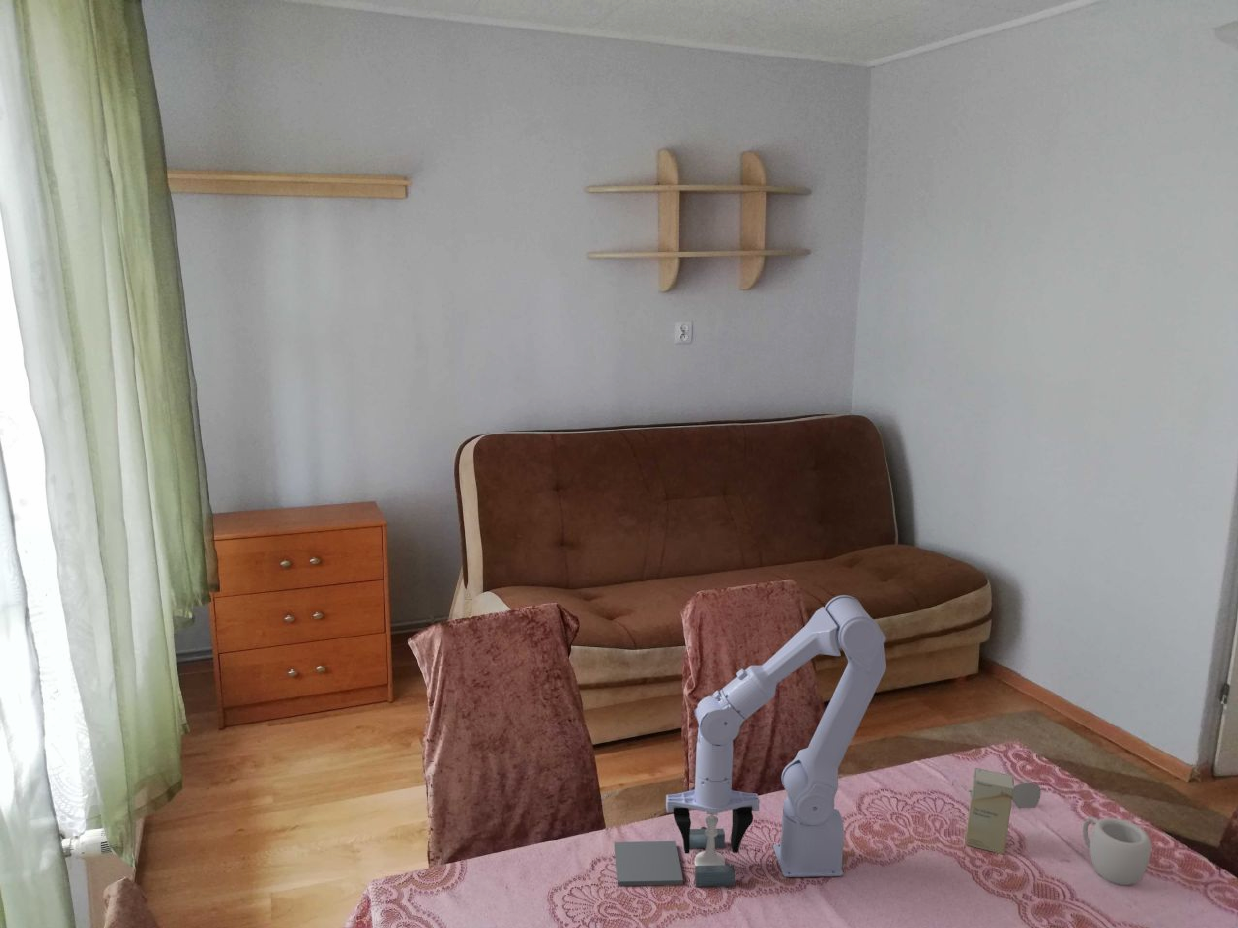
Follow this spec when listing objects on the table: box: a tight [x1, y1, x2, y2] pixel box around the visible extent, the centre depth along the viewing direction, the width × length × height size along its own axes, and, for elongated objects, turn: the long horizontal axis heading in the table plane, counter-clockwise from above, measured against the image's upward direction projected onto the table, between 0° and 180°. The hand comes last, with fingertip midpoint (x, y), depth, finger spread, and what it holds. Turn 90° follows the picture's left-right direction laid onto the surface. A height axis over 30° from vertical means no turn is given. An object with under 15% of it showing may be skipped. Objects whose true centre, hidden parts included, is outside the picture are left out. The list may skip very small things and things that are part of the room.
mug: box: [1082, 816, 1152, 886], centre depth 151 cm, size 12×8×8 cm
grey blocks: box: [689, 826, 736, 888], centre depth 152 cm, size 6×13×2 cm, turn 3°
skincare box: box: [965, 767, 1015, 855], centre depth 157 cm, size 6×4×12 cm
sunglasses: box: [951, 777, 1044, 809], centre depth 172 cm, size 14×8×5 cm, turn 94°
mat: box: [614, 840, 684, 887], centre depth 151 cm, size 10×10×1 cm
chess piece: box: [694, 812, 726, 867], centre depth 150 cm, size 5×5×10 cm
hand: (710, 849), depth 151 cm, fingers open, 7 cm apart
